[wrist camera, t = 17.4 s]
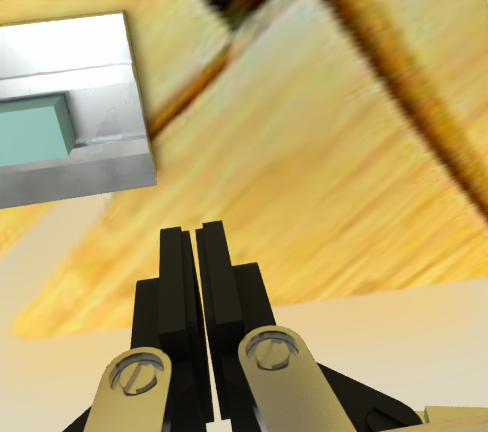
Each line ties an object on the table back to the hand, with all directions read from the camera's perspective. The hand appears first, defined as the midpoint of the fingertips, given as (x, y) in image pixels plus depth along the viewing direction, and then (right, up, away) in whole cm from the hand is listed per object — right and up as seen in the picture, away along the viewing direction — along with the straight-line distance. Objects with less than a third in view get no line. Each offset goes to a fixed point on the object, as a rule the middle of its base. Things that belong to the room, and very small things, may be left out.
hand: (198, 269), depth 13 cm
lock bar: (-15, +7, +15) cm, 22 cm away
